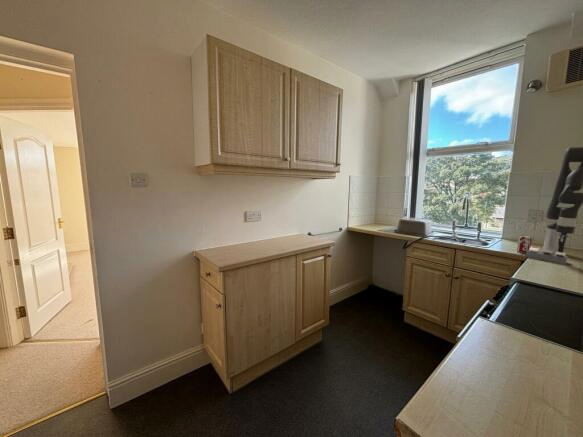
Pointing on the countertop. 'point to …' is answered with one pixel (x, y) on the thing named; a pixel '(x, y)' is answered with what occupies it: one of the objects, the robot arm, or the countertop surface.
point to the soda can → (524, 244)
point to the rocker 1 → (534, 249)
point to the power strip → (547, 257)
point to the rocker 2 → (560, 253)
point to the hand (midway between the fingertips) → (560, 251)
